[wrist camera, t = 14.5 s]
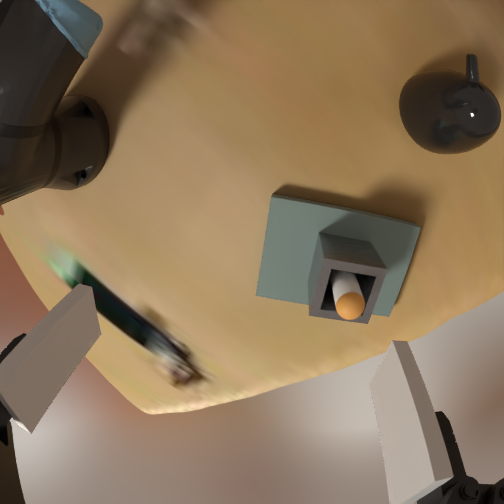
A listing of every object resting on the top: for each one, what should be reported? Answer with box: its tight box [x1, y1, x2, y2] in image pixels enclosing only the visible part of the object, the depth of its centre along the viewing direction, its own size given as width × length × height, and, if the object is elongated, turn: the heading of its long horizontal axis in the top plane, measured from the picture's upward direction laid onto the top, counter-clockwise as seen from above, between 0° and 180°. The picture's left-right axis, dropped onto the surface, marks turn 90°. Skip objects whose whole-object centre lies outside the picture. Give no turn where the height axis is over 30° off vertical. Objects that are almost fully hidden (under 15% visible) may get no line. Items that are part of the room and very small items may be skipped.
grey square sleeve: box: [308, 232, 388, 324], centre depth 33 cm, size 7×7×8 cm
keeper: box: [256, 194, 421, 320], centre depth 33 cm, size 20×14×14 cm
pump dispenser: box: [399, 54, 501, 154], centre depth 22 cm, size 10×10×15 cm
